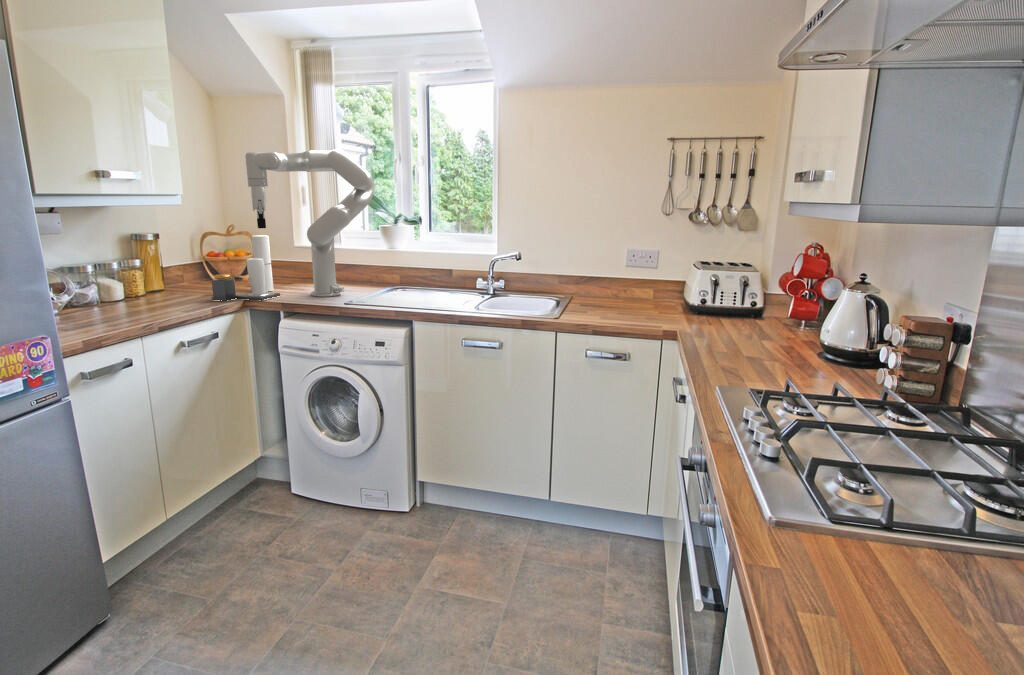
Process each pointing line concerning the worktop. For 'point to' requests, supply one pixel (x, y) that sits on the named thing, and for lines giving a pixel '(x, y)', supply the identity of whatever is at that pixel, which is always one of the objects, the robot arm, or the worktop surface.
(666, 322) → the worktop surface
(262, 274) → the drinking glass
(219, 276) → the plunger
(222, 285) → the press base
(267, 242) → the cylindrical container
